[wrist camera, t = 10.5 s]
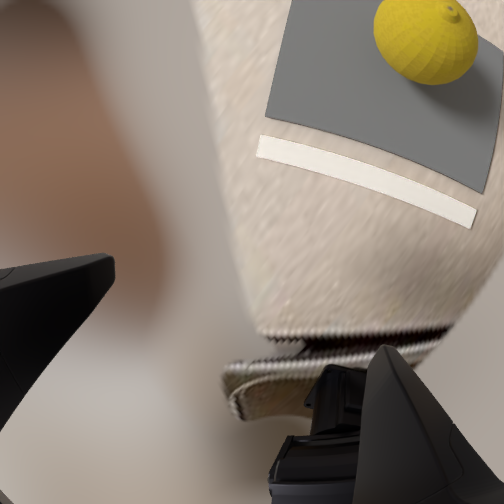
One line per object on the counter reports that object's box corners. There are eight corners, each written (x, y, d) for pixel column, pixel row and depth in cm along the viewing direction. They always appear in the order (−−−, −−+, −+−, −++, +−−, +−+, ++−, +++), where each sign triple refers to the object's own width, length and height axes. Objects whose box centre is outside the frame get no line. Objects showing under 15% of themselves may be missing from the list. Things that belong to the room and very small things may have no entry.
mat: (479, 192, 14) (482, 193, 14) (266, 116, 17) (264, 116, 16) (500, 52, 9) (503, 51, 9) (299, -25, 12) (298, -27, 11)
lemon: (426, 20, 11) (469, -31, 3) (452, 92, 12) (519, 73, 5) (353, 23, 12) (365, -42, 5) (380, 97, 14) (419, 67, 7)
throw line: (467, 227, 16) (470, 229, 15) (257, 156, 18) (256, 156, 18) (474, 208, 15) (476, 209, 15) (262, 134, 17) (260, 134, 17)
